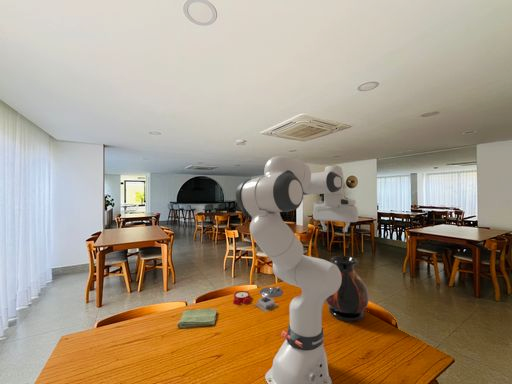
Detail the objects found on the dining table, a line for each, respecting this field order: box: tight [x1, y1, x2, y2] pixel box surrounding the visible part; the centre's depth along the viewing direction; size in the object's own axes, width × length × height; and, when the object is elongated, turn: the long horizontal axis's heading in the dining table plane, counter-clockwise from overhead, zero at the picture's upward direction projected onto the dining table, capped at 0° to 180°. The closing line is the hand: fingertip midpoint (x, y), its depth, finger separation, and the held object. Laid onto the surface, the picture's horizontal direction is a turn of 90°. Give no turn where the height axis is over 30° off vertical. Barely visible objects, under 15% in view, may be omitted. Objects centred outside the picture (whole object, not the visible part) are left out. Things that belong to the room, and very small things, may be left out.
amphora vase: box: [325, 255, 370, 323], centre depth 109 cm, size 22×22×28 cm
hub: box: [259, 285, 284, 299], centre depth 133 cm, size 15×15×4 cm
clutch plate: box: [257, 296, 275, 310], centre depth 117 cm, size 6×8×3 cm
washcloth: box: [177, 307, 218, 329], centre depth 106 cm, size 13×18×3 cm
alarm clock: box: [233, 290, 251, 306], centre depth 123 cm, size 10×6×15 cm
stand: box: [253, 302, 279, 313], centre depth 116 cm, size 10×10×2 cm
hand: (334, 230), depth 98 cm, fingers open, 8 cm apart
